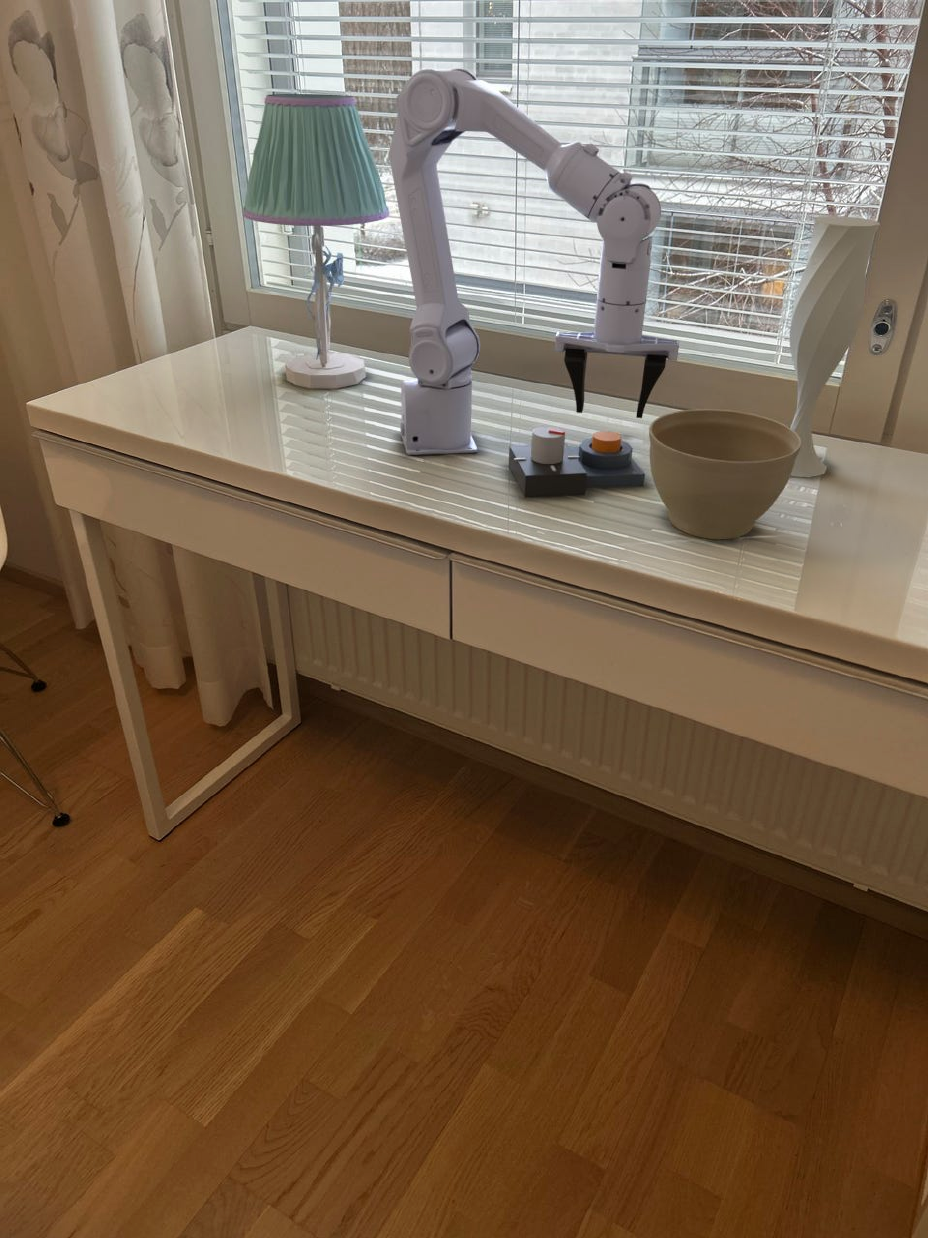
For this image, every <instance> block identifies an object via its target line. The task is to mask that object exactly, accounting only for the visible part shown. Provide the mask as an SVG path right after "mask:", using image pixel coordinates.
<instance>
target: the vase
mask: <svg viewBox="0 0 928 1238" xmlns="http://www.w3.org/2000/svg"><path fill="white" fill-rule="evenodd" d="M812 220H813V228H812V234H811V238H810V243H809V249H808V255H807V256H808V257H807V260H806V266H805V268H804V270H803V273H802V275H801V278H800V281H799V283H798V286H797V288H796V292H795V296H794V300H793V304H792V309H791V320H790V327H789V349H790V354H791V359H792V364H793V369H794V372H795V377H796V381H797V402H796V409H795V414H794V417H793V418H792V422H791V424H790V427H789V428H791V429H792V430H793V431H795V432H796V433H797V434H798V435H799V437H800V439H801V447H800V451H799V453H798V455H797V457H796V458H795V462H794V466H793V469H792V472H791V475H790V477H796V478H797V477H798V478H799V477H800V478H812V477H817V476H821V475H825V474H826V472H827V469H828V466H827V465H826V464H825V463H823V462H822V461H821V460H820V458H819V457H818V455H817V453H816V449H815V446H814V439H813V431H812V425H813V418H814V417H813V416H814V410H815V407H816V405H817V403H818V402H817V401H818V400H819V397H820V395H821V392H822V391H823V389H824V387H825V386H826V384H827V383H828V381H829V379H830V378H831V377H832V375H833V374H834V373H835V370H836V369H837V368H838V366H839V365H840V363H841V361H842V360H843V358H844V357H845V355H846V353H847V351H848V349H849V348H850V346H851V345H852V343H853V340H854V338H855V335H856V333H857V330H858V328H859V325H860V321H861V318H862V313H863V309H864V304H865V296H866V295H865V294H866V286H867V285H866V284H867V283H866V282H867V269H868V265H869V261H870V257H871V252H872V246H873V243H874V238H875V235H876V233H877V231H878V230H879V227H880V226H881V223H880V222H879V221H877V220H872V219H869V218H862V217H854V216H843V215H841V216H839V215H825V216H824V215H821V216H816V217H812Z"/></svg>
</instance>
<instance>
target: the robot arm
mask: <svg viewBox="0 0 928 1238" xmlns="http://www.w3.org/2000/svg"><path fill="white" fill-rule="evenodd" d="M395 104H396V110H397V114H396V119H395V124H394V128H393V132H392V137H391V142H390V146H389V151H388V153H389V163H390V164H389V165H390V168H391V174H392V179H393V185H394V190H395V197H396V201H397V207H398V213H399V218H400V223H401V228H402V234H403V239H404V246H405V251H406V257H407V262H408V268H409V272H410V278H411V284H412V289H413V293H414V300H415V301H414V302H415V305H416V306H415V307H416V309H415V312H414V315H413V318H412V321H411V323H410V326H409V333H410V341H411V343H410V348H409V351H408V364H409V368H410V370H411V372H412V374H413V376H415V377H416V378H413V379H410V380H403V381H401V388H400V390H401V391H400V393H401V394H400V396H401V397H400V398H401V400H400V401H401V403H400V404H401V406H400V407H401V422H400V436H401V438H402V442H403V445H404V449H405V453H406V455H408V456H414V455H415V456H418V455H420V456H421V455H442V454H443V455H445V454H447V455H449V454H471V453H477V452H478V447H477V445H476V442H475V440H474V439H473V436H472V407H473V406H472V404H473V403H472V401H473V396H472V395H473V373H472V366H473V364H474V363H475V362H476V361H477V360H478V358H479V356H480V353H481V341H480V337H479V335H478V333H477V331H476V330H475V328H474V326H473V325H472V323H471V319H470V312H469V310H468V309H467V307H466V306H465V305H464V304H463V303H462V301H461V300H460V298H459V295H458V288H457V283H456V277H455V270H454V264H453V259H452V251H451V245H450V240H449V239H450V238H449V234H448V228H447V221H446V215H445V209H444V202H443V197H442V192H441V191H442V190H441V185H440V178H439V173H438V172H439V171H438V163H439V162H440V160H441V159H442V157H443V155H444V154H445V153H446V151H447V150H448V148H449V147H450V146H451V144H452V142H453V141H454V140H456V139H457V138H458V137H460V136H461V135H463V134H464V133H465V132H473V133H474V132H477V133H481V132H482V133H486V134H487V133H488V134H489V135H491V136H492V137H494V138H495V139H497V141H499V142H501V143H503V144H504V145H506V146H507V147H508V148H510V149H511V150H513V151H514V152H516V153H517V154H519V156H522V157H523V158H524V159H526V160H528V161H529V162H531V163H532V164H533V165H535V166H536V167H538V168H539V169H541V170H542V171H544V174H545V178H546V182H547V187H548V190H549V191H551V192H552V193H553V194H555V195H556V196H557V197H559V198H560V199H561V200H562V201H564V202H565V203H567V204H568V205H569V206H570V207H572V208H573V209H575V210H576V211H577V212H578V213H580V214H581V215H582V216H584V217H585V218H586V219H588V220H589V221H590V222H592V223H596V226H597V231H598V233H599V235H600V237H601V239H602V245H601V256H600V260H599V270H598V280H597V281H598V282H597V290H596V291H597V293H596V294H597V295H596V303H595V313H594V325H593V331H570V332H569V331H557V332H556V334H555V339H554V342H555V343H554V352H555V353H564V358H563V361H564V364H565V368H566V371H567V373H568V376H569V378H570V382H571V384H572V388H573V392H574V398H575V409H576V413H578V414H583V411H584V406H585V380H586V379H585V378H586V371H587V370H586V369H587V359H588V354H600V355H601V354H602V355H613V356H614V355H615V356H628V357H642V358H644V365H643V372H642V380H641V388H640V391H639V397H638V401H637V408H636V418H637V419H643V416H644V415H643V414H644V411H645V407H646V405H647V401H648V400H649V397H650V395H651V393H652V391H653V389H654V387H655V385H656V383H658V380H659V378H660V377H661V375H662V374H663V373H664V371H665V368H666V364H667V363H666V362H667V361H676V362H677V361H678V356H679V349H680V340H678V339H668V338H663V337H656V336H651V335H650V336H649V335H644V334H643V330H644V320H645V313H646V304H647V298H648V297H647V296H648V288H649V279H650V271H651V265H652V260H651V253H652V247H653V239H654V238H653V235H651V234H652V233H653V232H654V231H655V229H656V228H657V227H658V225H659V223H660V220H661V217H662V216H661V215H662V205H661V201H660V199H659V197H658V195H657V194H656V193H655V192H654V191H653V190H652V189H651V187H650V185H649V184H645V183H641V182H634V183H632V180H633V175H631V173H629V172H627V171H624V172H622V173H621V172H620V171H618V170H617V169H616V168H615V167H613V166H612V165H611V164H610V163H608V162H606V161H605V160H604V159H603V158H601V157H600V156H598V153H599V151H600V149H599V148H598V147H597V146H596V145H594V144H593V143H591V142H590V143H586V145H584V144H582V142H580V141H574V142H571V143H568V144H562V142H560V141H559V140H557V138H555V137H554V136H553V135H552V134H550V133H549V132H548V131H547V130H546V129H544V127H542V126H541V125H540V124H538V123H537V122H536V121H535V120H534V119H532V118H531V117H530V116H529V115H528V114H526V113H525V112H524V111H523V110H522V109H520V108H519V107H518V106H517V105H516V104H514V103H513V102H512V101H511V100H510V99H508V98H507V97H506V96H505V95H503V93H501V92H500V91H499V90H498V89H496V88H495V87H494V86H493V85H492V84H491V83H489V82H486V81H485V80H483V79H478V77H477V76H476V75H475V74H474V73H472V72H471V71H469V70H467V69H464V68H453V69H449V70H435V69H431V68H429V69H428V68H427V69H421V70H419V71H417V72H415V73H413V74H412V75H411V76H410V78H409V79H408V80H407V82H406V83H405V84H404V86H403V87H402V88H401V90H400V91H399V93H398V95H396V97H395Z"/></svg>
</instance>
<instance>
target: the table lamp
mask: <svg viewBox="0 0 928 1238" xmlns="http://www.w3.org/2000/svg"><path fill="white" fill-rule="evenodd" d="M356 105H357V102H356V99H355V98H354V96H352V95H345V94H327V93H326V94H325V93H323V94H322V93H321V94H320V93H275V94H274V93H273V94H272V93H271V94H267V95H266V96H265V98H264V108H263V113H262V118H261V123H260V128H259V132H258V137H257V141H256V143H255V147H254V150H253V153H252V163H251V166H250V171H249V175H248V179H247V186H246V193H245V202H244V206H243V209H242V215H243V217H244V218H246V219H247V220H251V221H253V222H258V223H265V224H271V225H279V226H280V225H281V226H294V227H295V226H296V227H298V226H299V227H313V234H312V235H311V244H310V245H311V250H312V255H313V257H314V259H315V263H314V269H313V271H314V274H313V285H312V286H311V292H310V293H309V294H308V296H307V299H306V305H307V310H308V315H309V316H310V317H312V320H313V322H314V329H315V331H314V332H315V341H316V349H317V353H310V354H309V353H308V354H304V355H296V356H295V357H294V358H292V359H291V360H289V361H288V362H286V363H285V364H284V368H285V376H286V381H287V382H289V383H291V384H293V385H294V386H298V387H301V388H302V387H304V388H306V389H330V390H331V389H341V388H345V387H349V386H355V385H358V384H359V383H361V382H362V381H363V380H364V379H365V378H366V377H367V374H366V366H365V360H364V359H362V358H359V357H357V356H354V355H351V354H349V353H334V352H333V353H332V352H330V348H331V326H332V325H331V324H332V322H331V319H332V318H331V298H332V290H333V288H334V286H335V283H336V285H337V288H340V287H342V286H343V285H344V284H345V277H344V254H343V253H342V252H336V259H334V260H333V261H332V262H330V263H329V261H330V260H331V258H332V251H330V249H329V247H328V246H326V245H325V234H324V233H325V231H324V227H334V226H335V227H336V226H352V225H360V224H361V225H362V224H369V223H373V222H378V221H382V220H385V219H387V218H389V216H390V209H389V207H388V205H387V201H386V194H385V190H384V187H383V183H382V180H381V177H380V174H379V170H378V168H377V164H376V161H375V160H376V159H375V157H374V154H373V152H372V149H371V147H370V144H369V142H368V140H367V137H366V135H365V132H364V131H365V130H364V128H363V124H362V120H361V117H360V113H359V111H358V108H356ZM323 247H325V249H326V250H327V252H326V251H325V250H323ZM324 256H325V259H324ZM327 281H328V282H327ZM328 283H329V288H328ZM313 295H314V314H313V312H312V311H311V307H310V306H311V304H310V303H311V301H310V300H311V298H312V296H313Z"/></svg>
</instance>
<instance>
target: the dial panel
mask: <svg viewBox="0 0 928 1238" xmlns="http://www.w3.org/2000/svg"><path fill="white" fill-rule="evenodd" d="M531 446H532V444H510V445H509V447H508V465H507V466H508V469H509V471H510V472H511V475H512V477H513V478H514V481H515V483H516V484H517V487H518V489H519V490H520V492H521V494H522V496H523V498H524V499H531V498H532V499H533V498H553V497H555V498H557V497H576V496H577V497H578V496H585V495H586V488H585V487H586V476H587V473H586V471H585V470H584V468H583V467H582V465H581V464H580V462H579V461H578V460H577V458H579V456H575V455H574V454H573V452H572V451H571V449H570V448H569V447H570V446H569V445H568V443H566V442H565V443H564V455H563V460H562V461H561V462H560V463H556V464H541V463H537V462H535V461H533V460H532V459H531Z"/></svg>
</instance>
